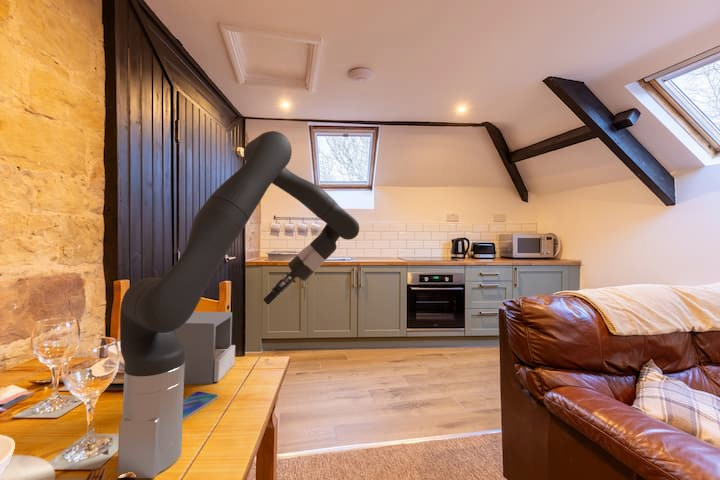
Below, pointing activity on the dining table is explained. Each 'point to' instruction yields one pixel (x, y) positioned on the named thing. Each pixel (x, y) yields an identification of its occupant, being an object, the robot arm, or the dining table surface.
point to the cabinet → (204, 344)
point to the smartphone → (196, 402)
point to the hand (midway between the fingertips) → (266, 301)
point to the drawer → (223, 361)
